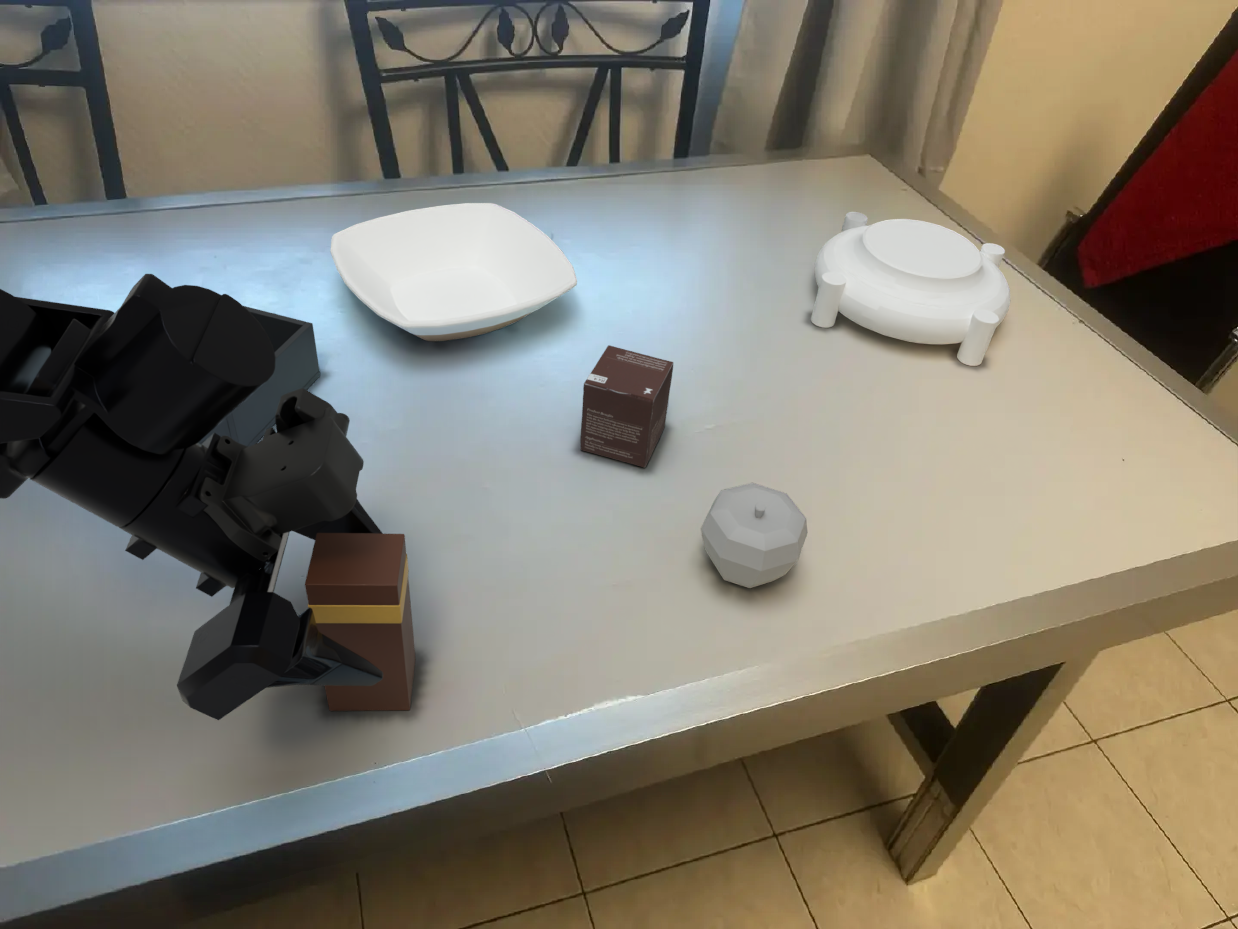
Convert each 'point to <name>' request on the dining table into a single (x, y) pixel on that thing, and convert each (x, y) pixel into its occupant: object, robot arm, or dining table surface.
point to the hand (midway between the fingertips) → (387, 618)
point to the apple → (753, 534)
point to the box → (625, 405)
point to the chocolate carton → (365, 613)
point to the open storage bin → (274, 377)
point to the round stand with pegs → (912, 284)
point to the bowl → (451, 269)
